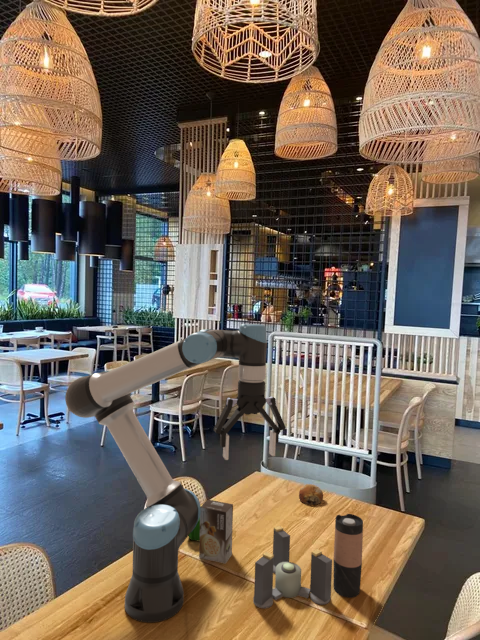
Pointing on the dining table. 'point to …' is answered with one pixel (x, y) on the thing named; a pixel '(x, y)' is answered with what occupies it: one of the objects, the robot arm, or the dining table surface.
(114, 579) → the dining table surface
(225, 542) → the coffee box
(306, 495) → the bread roll
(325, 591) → the grey post tan tip
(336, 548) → the travel mug
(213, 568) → the dining table surface
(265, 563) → the dark grey upright block
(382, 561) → the dining table surface
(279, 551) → the grey block tan end
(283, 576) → the tribrach hub
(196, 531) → the bell pepper
